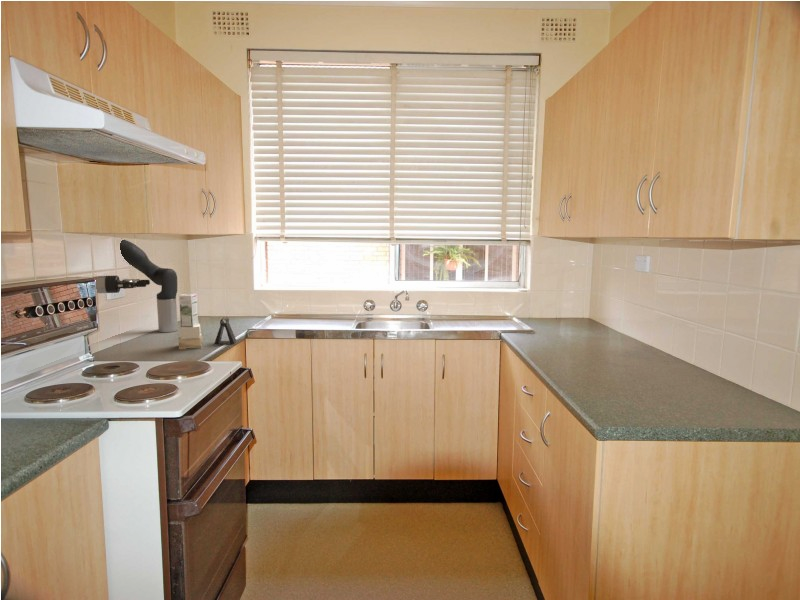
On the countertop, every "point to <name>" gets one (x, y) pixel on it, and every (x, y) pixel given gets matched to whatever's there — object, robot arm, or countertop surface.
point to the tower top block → (190, 332)
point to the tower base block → (190, 343)
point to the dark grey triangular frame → (229, 333)
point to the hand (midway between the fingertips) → (147, 283)
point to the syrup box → (188, 310)
